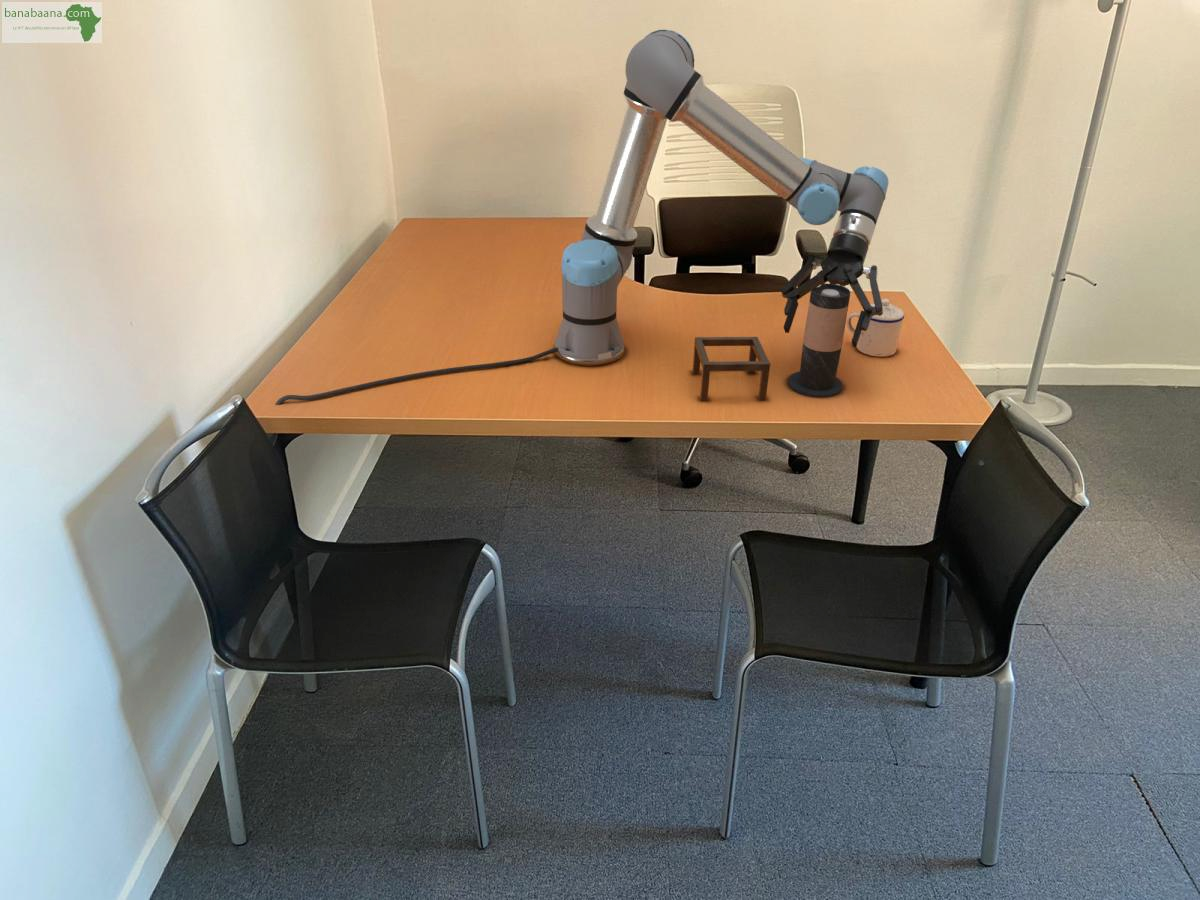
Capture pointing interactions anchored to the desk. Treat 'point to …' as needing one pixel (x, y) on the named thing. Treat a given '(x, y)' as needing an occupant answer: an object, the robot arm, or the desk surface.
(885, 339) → the teacup with lid
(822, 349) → the travel mug
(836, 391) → the coaster
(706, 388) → the rack
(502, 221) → the desk surface
